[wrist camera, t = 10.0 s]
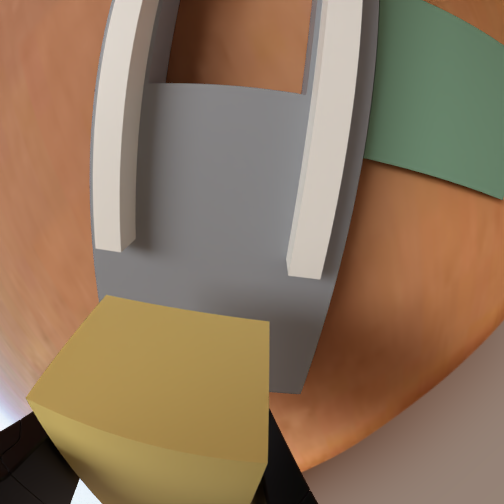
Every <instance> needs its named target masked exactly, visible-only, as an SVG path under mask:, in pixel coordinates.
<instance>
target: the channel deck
mask: <svg viewBox="0 0 504 504" xmlns="http://www.w3.org/2000/svg"><path fill="white" fill-rule="evenodd" d="M179 3H180V0H112V3H111V7H110V11H109V15H108V19H107V24H106V28H105V33H104V38H103V43H102V48H101V53H100V59H99V65H98V72H97V79H96V87H95V95H94V105H93V116H92V129H91V148H90V211H91V231H92V244H93V256H94V266H95V275H96V283H97V290H98V297H99V303H100V301H101V300H102V299H103V298H104V297H105V296H106V295H110V296H115V297H120V298H125V299H130V300H135V301H140V302H145V303H151V304H156V305H162V306H167V307H173V308H179V309H185V310H191V311H197V312H204V313H210V314H217V315H224V316H231V317H238V318H246V319H253V320H261V321H269V392H277V393H290V394H301V391H302V389H303V386H304V383H305V380H306V377H307V374H308V371H309V368H310V365H311V362H312V359H313V356H314V353H315V350H316V347H317V344H318V341H319V338H320V334H321V331H322V328H323V325H324V321H325V318H326V315H327V311H328V308H329V304H330V301H331V297H332V294H333V290H334V286H335V283H336V279H337V275H338V271H339V267H340V263H341V259H342V255H343V251H344V247H345V243H346V239H347V235H348V230H349V226H350V221H351V217H352V212H353V207H354V203H355V198H356V193H357V188H358V182H359V177H360V172H361V166H362V161H363V155H364V149H365V142H366V136H367V129H368V123H369V115H370V108H371V100H372V92H373V83H374V73H375V62H376V50H377V36H378V17H379V0H312V9H311V18H310V27H309V36H308V44H307V53H306V61H305V69H304V77H303V85H302V93H301V94H297V93H290V92H284V91H277V90H269V89H261V88H252V87H241V86H230V85H215V84H190V83H166V77H167V70H168V63H169V57H170V50H171V44H172V39H173V33H174V28H175V23H176V18H177V13H178V8H179Z"/></svg>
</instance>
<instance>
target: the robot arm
mask: <svg viewBox="0 0 504 504" xmlns="http://www.w3.org/2000/svg"><path fill="white" fill-rule="evenodd" d="M79 479H80V478H79V476H78V475H77V474H76V473H75V471H74V470H73V469H72V468H71V466H70V465H69V464H68V462H67V461H66V460H65V458H64V457H63V456H62V454H61V453H60V452H59V450H58V449H57V447H56V446H55V445H54V443H53V442H52V440H51V439H50V437H49V436H48V434H47V433H46V431H45V430H44V428H43V427H42V425H41V423H40V422H39V420H38V418H37V417H36V415H35V413H34V412H31V413H30V414H28V415H27V416H25V417H24V418H22V419H21V420H19V421H17V422H15V423H14V424H12V425H11V426H9V427H7V428H6V429H4V430H2V431H0V504H70V503H71V500H72V498H73V495H74V492H75V489H76V487H77V484H78V482H79ZM309 490H310V489H309V486H308V484H307V483H306V481H305V479H304V477H303V475H302V473H301V471H300V469H299V467H298V465H297V463H296V461H295V459H294V457H293V455H292V453H291V451H290V449H289V447H288V445H287V443H286V441H285V439H284V437H283V435H282V433H281V431H280V429H279V427H278V425H277V423H276V421H275V419H274V417H273V415H272V413H271V411H270V409H269V424H268V464H267V466H266V469H265V471H264V473H263V476H262V478H261V481H260V483H259V485H258V488H257V490H256V492H255V494H254V497H253V499H252V501H251V503H250V504H318V503H317V501H316V499H315V497H314V496H313V494H312V492H311V491H309Z"/></svg>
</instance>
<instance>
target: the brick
mask: <svg viewBox="0 0 504 504" xmlns="http://www.w3.org/2000/svg"><path fill="white" fill-rule="evenodd" d="M26 400H27V401H28V403H29V405H30V407H31V408H32V410H33V412H34V413H35V415H36V417H37V418H38V420H39V422H40V423H41V425H42V427H43V428H44V430H45V431H46V433H47V434H48V436H49V437H50V439H51V440H52V442H53V443H54V445H55V446H56V447H57V449H58V450H59V452H60V453H61V454H62V456H63V457H64V458H65V460H66V461H67V462H68V464H69V465H70V466H71V468H72V469H73V470H74V471H75V473H76V474H77V475H78V476H79V478H80V479H81V480H82V481H83V482H84V484H85V485H86V486H87V487H88V488H89V489H90V491H91V492H92V493H93V494H94V495H95V496H96V497H97V498H98V500H99V501H100V502H101V503H102V504H250V503H251V501H252V499H253V497H254V494H255V492H256V490H257V488H258V485H259V483H260V481H261V478H262V476H263V473H264V471H265V469H266V466H267V464H268V424H269V321H261V320H253V319H246V318H238V317H231V316H224V315H217V314H210V313H204V312H197V311H191V310H185V309H179V308H173V307H167V306H162V305H156V304H151V303H145V302H140V301H135V300H130V299H125V298H120V297H115V296H110V295H106V296H105V297H104V298H103V299H102V300H101V301H100V303H99V304H98V305H97V306H96V307H95V308H94V310H93V311H92V312H91V313H90V314H89V316H88V317H87V318H86V319H85V320H84V322H83V323H82V324H81V325H80V327H79V328H78V329H77V330H76V332H75V333H74V334H73V335H72V336H71V338H70V339H69V340H68V342H67V343H66V344H65V345H64V347H63V348H62V349H61V350H60V352H59V353H58V354H57V356H56V357H55V358H54V360H53V361H52V362H51V364H50V365H49V366H48V368H47V369H46V370H45V372H44V373H43V374H42V376H41V377H40V378H39V380H38V381H37V383H36V384H35V385H34V387H33V388H32V390H31V391H30V392H29V394H28V395H27V397H26Z"/></svg>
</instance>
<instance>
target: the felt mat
mask: <svg viewBox="0 0 504 504" xmlns="http://www.w3.org/2000/svg"><path fill="white" fill-rule="evenodd" d="M363 158H366V159H370V160H374V161H379V162H383V163H387V164H391V165H395V166H399V167H402V168H406V169H410V170H414V171H417V172H421V173H424V174H428V175H431V176H434V177H438V178H441V179H444V180H447V181H450V182H454V183H457V184H460V185H463V186H466V187H469V188H471V189H474V190H477V191H480V192H483V193H485V194H488V195H491V196H493V197H496V198H499V199H501V200H503V197H504V45H502V44H501V43H499V42H498V41H496V40H495V39H493V38H492V37H490V36H489V35H487V34H486V33H484V32H482V31H481V30H479V29H477V28H476V27H474V26H472V25H471V24H469V23H467V22H465V21H463V20H462V19H460V18H458V17H456V16H454V15H452V14H450V13H448V12H446V11H444V10H442V9H440V8H438V7H436V6H434V5H432V4H429V3H427V2H425V1H423V0H379V17H378V36H377V50H376V62H375V73H374V83H373V92H372V100H371V108H370V115H369V123H368V129H367V136H366V142H365V149H364V155H363Z"/></svg>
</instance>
